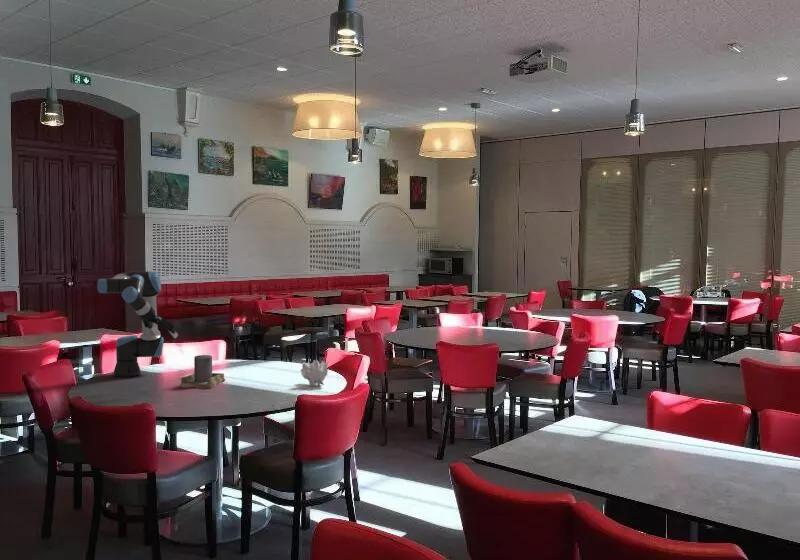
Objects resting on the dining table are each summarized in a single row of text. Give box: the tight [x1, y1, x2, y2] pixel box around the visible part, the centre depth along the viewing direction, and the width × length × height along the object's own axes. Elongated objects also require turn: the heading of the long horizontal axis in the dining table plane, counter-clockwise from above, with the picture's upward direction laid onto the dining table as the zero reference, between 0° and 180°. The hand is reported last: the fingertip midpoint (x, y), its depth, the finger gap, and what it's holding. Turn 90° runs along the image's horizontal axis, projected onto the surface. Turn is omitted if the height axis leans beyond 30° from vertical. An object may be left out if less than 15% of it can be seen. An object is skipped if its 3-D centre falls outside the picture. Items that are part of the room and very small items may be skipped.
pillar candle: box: [193, 354, 213, 382], centre depth 372 cm, size 10×10×15 cm
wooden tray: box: [179, 372, 226, 389], centre depth 373 cm, size 18×18×5 cm
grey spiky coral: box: [300, 357, 329, 387], centre depth 373 cm, size 20×17×15 cm
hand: (167, 335), depth 361 cm, fingers open, 13 cm apart
